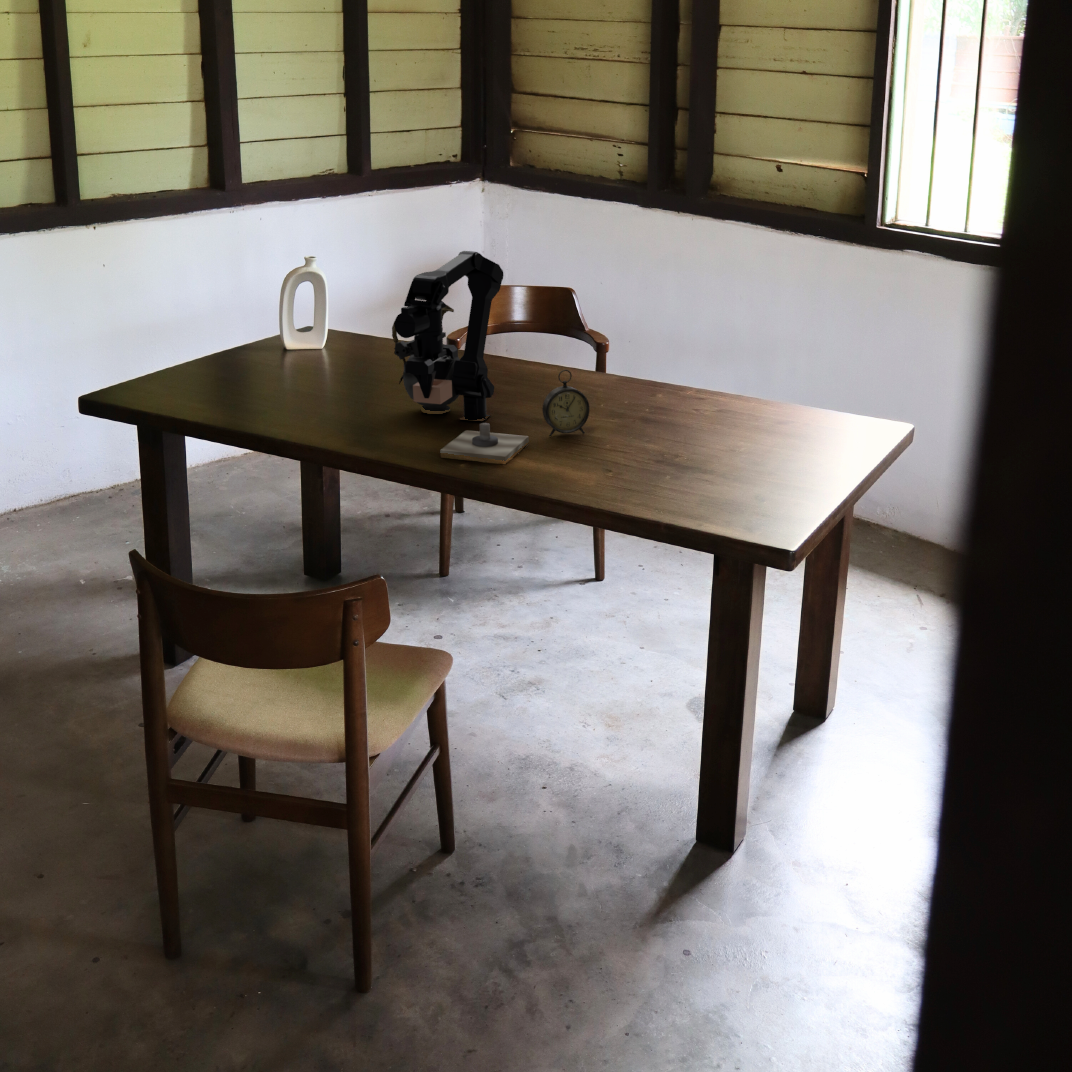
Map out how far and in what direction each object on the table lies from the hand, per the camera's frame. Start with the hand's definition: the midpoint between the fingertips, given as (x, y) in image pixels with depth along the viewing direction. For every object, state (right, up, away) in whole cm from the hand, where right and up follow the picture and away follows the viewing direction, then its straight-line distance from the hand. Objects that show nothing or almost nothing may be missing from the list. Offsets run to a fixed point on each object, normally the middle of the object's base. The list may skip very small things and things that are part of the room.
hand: (432, 394), depth 283 cm
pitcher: (-3, -1, +26) cm, 26 cm away
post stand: (+13, -14, -5) cm, 20 cm away
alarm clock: (+32, -9, +6) cm, 34 cm away
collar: (0, -1, 0) cm, 1 cm away
